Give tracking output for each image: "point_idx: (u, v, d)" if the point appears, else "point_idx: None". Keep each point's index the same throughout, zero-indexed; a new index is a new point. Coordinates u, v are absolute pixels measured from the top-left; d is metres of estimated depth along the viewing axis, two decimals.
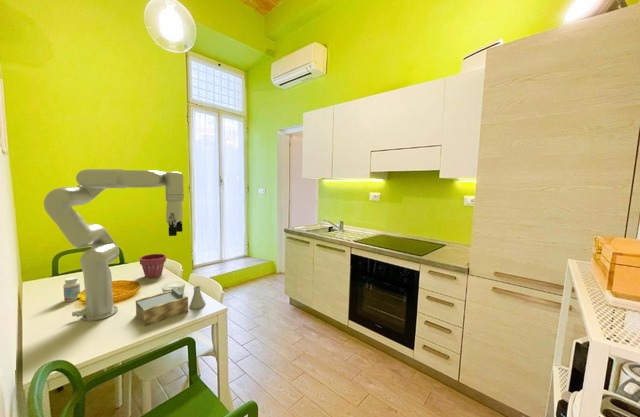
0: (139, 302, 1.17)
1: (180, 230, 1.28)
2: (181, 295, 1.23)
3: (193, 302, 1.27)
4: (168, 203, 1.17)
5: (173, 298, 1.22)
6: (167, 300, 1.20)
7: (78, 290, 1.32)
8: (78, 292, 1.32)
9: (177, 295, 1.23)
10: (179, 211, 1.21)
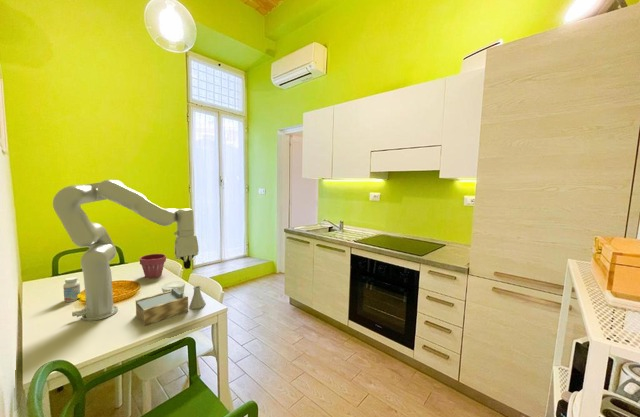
0: (139, 302, 1.17)
1: None
2: (181, 295, 1.23)
3: (193, 302, 1.27)
4: None
5: (173, 298, 1.22)
6: (167, 300, 1.20)
7: (78, 290, 1.32)
8: (78, 292, 1.32)
9: (177, 295, 1.23)
10: None
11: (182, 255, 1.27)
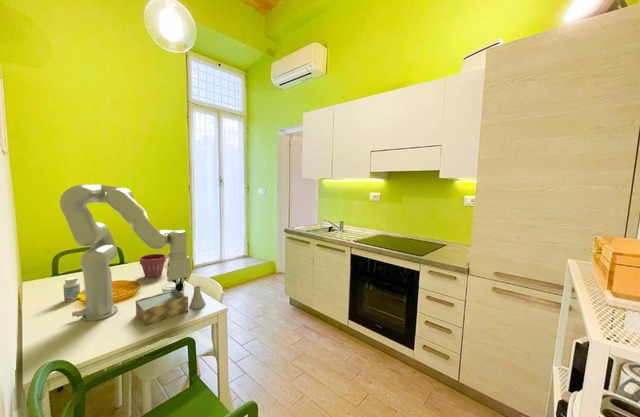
0: (139, 302, 1.17)
1: None
2: (181, 295, 1.22)
3: (193, 302, 1.27)
4: None
5: (173, 298, 1.22)
6: (167, 300, 1.20)
7: (78, 290, 1.32)
8: (78, 292, 1.32)
9: (177, 295, 1.23)
10: None
11: (174, 278, 1.25)
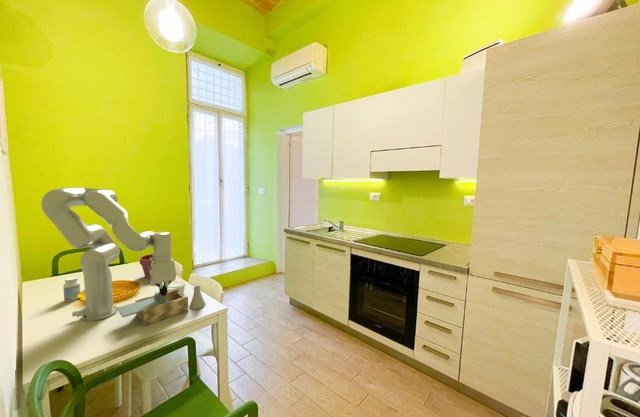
0: (119, 308, 1.12)
1: None
2: (164, 300, 1.17)
3: (193, 302, 1.27)
4: (173, 261, 1.25)
5: (155, 303, 1.17)
6: (149, 305, 1.15)
7: (78, 290, 1.32)
8: (78, 292, 1.32)
9: (160, 300, 1.18)
10: None
11: (157, 282, 1.20)
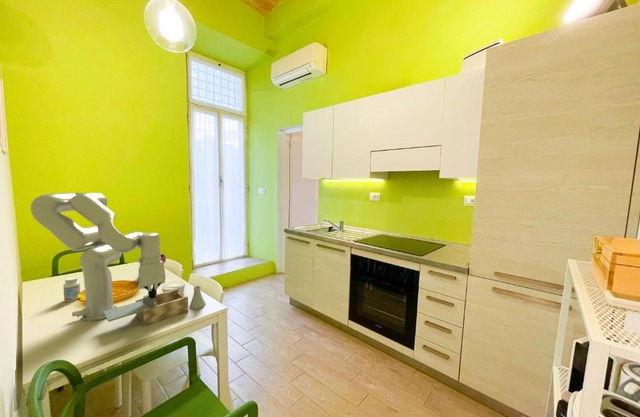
0: (105, 311, 1.08)
1: None
2: (152, 303, 1.14)
3: (193, 302, 1.27)
4: None
5: (143, 307, 1.13)
6: (136, 309, 1.11)
7: (78, 290, 1.32)
8: (78, 292, 1.32)
9: (148, 303, 1.14)
10: None
11: (146, 284, 1.16)
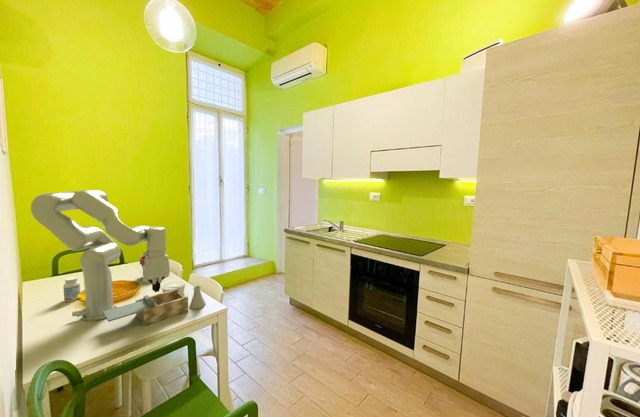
0: (105, 311, 1.08)
1: None
2: (152, 303, 1.14)
3: (193, 302, 1.27)
4: None
5: (143, 307, 1.13)
6: (136, 309, 1.11)
7: (78, 290, 1.32)
8: (78, 292, 1.32)
9: (148, 303, 1.14)
10: None
11: (150, 278, 1.18)
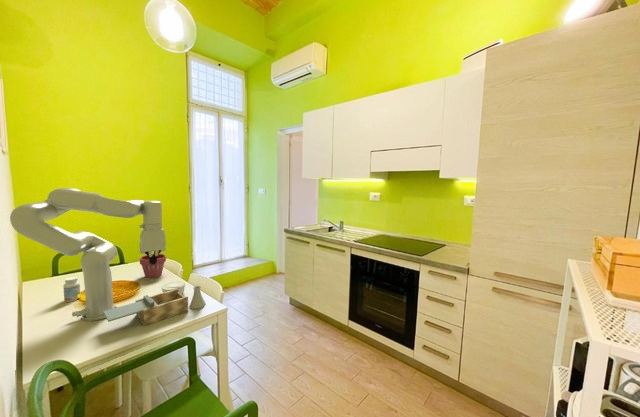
0: (105, 311, 1.08)
1: None
2: (152, 303, 1.14)
3: (193, 302, 1.27)
4: None
5: (143, 307, 1.13)
6: (136, 309, 1.11)
7: (78, 290, 1.32)
8: (78, 292, 1.32)
9: (148, 303, 1.14)
10: None
11: (146, 250, 1.20)
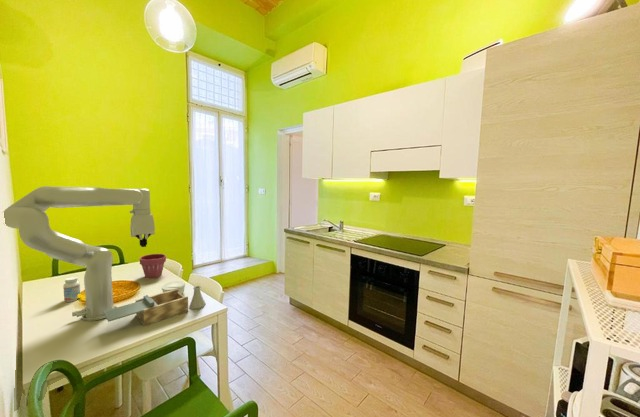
0: (105, 311, 1.08)
1: None
2: (152, 303, 1.14)
3: (193, 302, 1.27)
4: (152, 216, 1.37)
5: (143, 307, 1.13)
6: (136, 309, 1.11)
7: (78, 290, 1.32)
8: (78, 292, 1.32)
9: (148, 303, 1.14)
10: None
11: (137, 233, 1.32)
